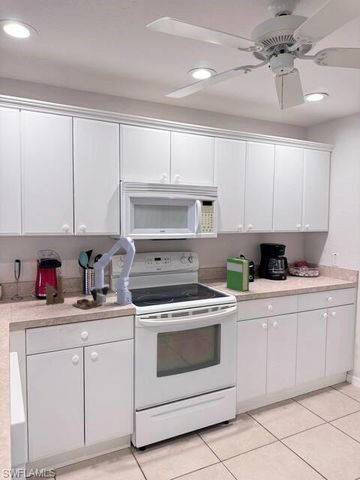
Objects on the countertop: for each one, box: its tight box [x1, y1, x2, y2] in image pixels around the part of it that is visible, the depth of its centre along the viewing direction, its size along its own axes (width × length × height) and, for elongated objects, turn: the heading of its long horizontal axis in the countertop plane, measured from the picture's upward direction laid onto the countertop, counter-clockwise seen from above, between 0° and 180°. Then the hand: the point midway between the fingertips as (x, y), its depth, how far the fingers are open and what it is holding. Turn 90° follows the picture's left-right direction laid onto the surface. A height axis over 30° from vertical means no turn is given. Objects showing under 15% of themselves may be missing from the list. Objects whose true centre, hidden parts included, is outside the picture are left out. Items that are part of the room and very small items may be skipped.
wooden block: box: [45, 274, 65, 306], centre depth 228 cm, size 4×11×18 cm, turn 124°
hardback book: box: [226, 257, 250, 293], centre depth 276 cm, size 18×7×24 cm, turn 34°
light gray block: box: [92, 292, 107, 304], centre depth 234 cm, size 10×3×5 cm, turn 50°
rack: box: [72, 298, 103, 311], centre depth 223 cm, size 14×12×3 cm
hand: (99, 299), depth 234 cm, fingers open, 7 cm apart
